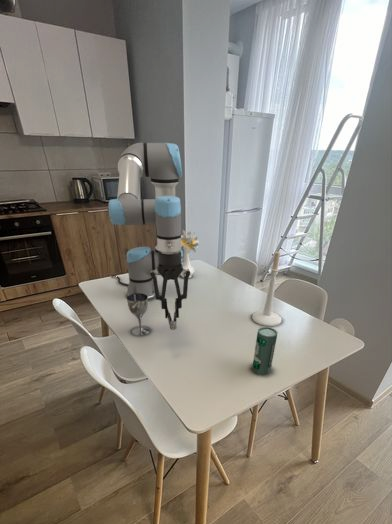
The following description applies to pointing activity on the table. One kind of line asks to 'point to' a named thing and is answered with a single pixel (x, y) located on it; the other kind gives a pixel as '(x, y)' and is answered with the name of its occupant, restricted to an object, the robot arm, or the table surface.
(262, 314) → the candlestick
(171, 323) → the tongs
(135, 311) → the wine glass
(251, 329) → the table surface
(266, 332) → the can
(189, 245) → the flower vase
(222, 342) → the table surface
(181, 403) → the table surface
